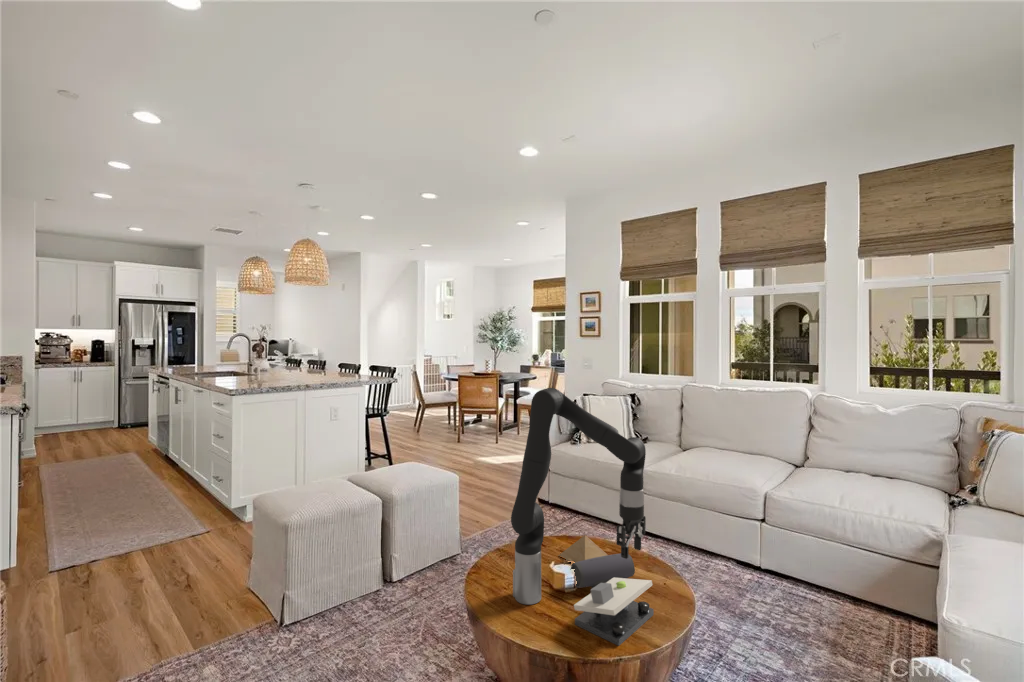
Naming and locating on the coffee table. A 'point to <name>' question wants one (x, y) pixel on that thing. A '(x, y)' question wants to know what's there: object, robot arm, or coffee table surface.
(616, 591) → the plate
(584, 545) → the model pyramid
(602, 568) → the bluetooth speaker
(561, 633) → the coffee table surface
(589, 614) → the tribrach base
